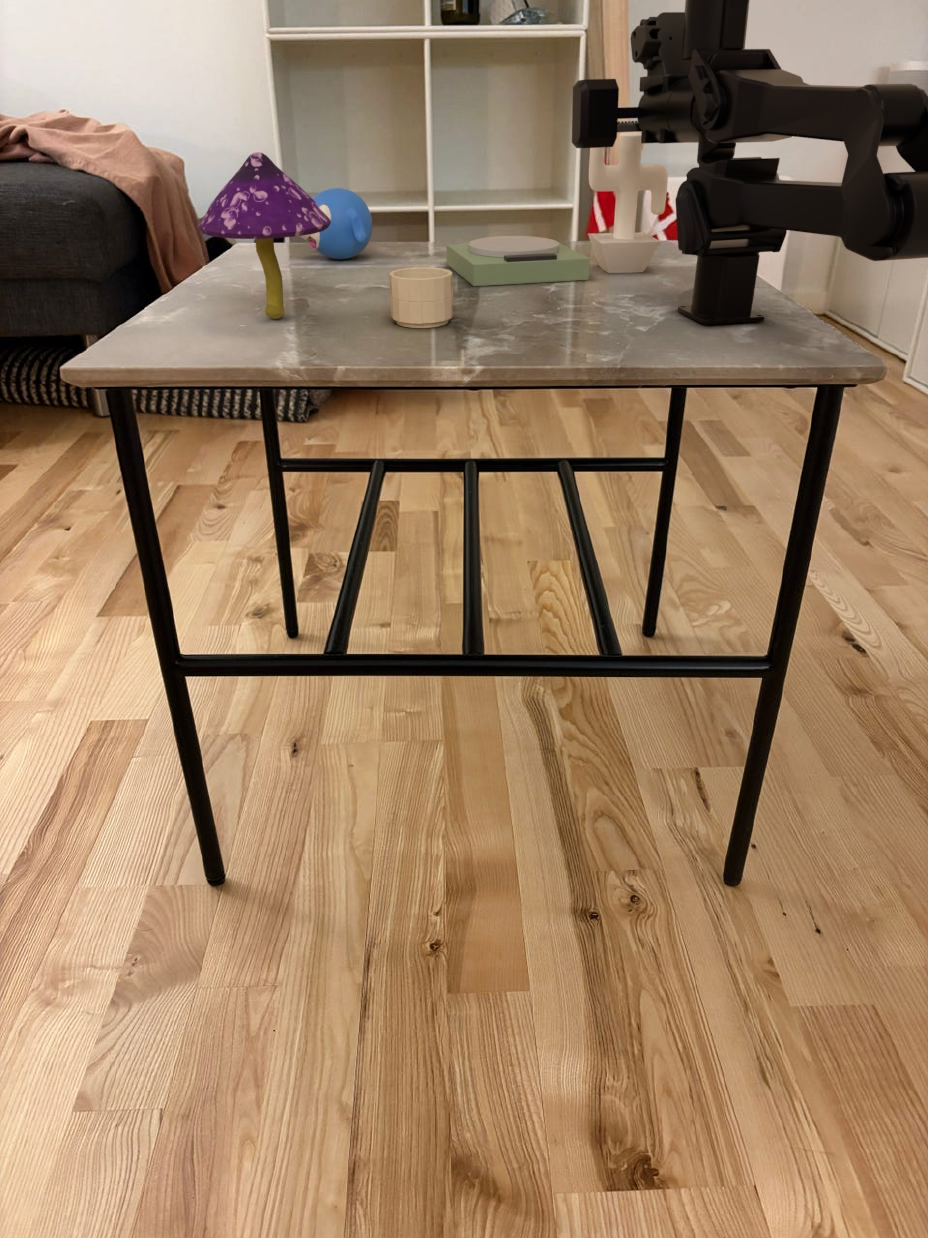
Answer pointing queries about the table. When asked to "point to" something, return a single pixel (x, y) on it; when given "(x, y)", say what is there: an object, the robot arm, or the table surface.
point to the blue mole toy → (342, 224)
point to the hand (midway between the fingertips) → (623, 113)
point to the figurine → (626, 205)
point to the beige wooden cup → (421, 296)
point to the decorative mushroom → (264, 217)
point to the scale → (516, 261)
